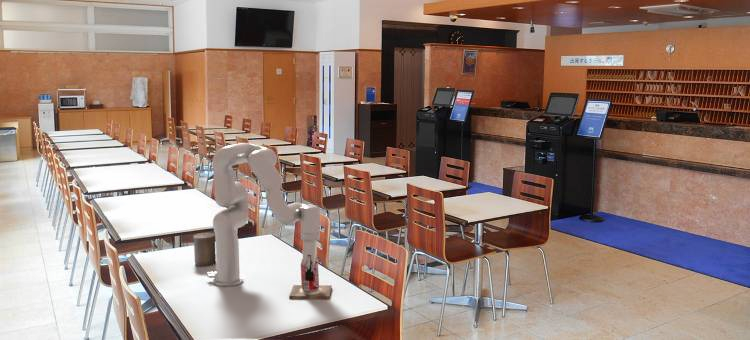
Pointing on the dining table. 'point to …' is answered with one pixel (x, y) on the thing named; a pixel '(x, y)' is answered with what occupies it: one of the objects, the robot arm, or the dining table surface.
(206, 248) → the pillar candle
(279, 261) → the dining table surface
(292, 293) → the board
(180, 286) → the dining table surface
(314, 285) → the soda can
